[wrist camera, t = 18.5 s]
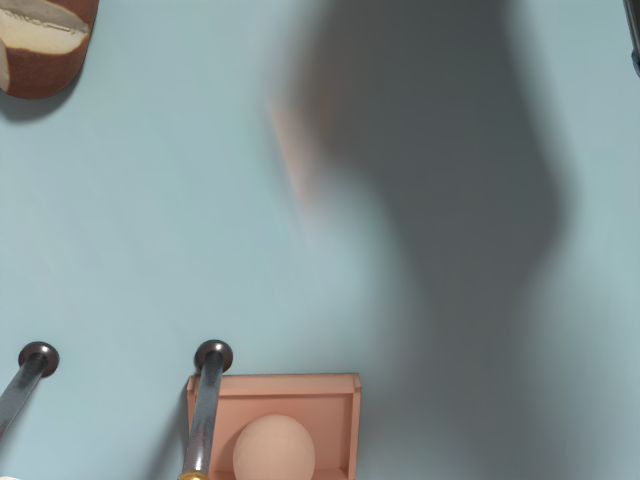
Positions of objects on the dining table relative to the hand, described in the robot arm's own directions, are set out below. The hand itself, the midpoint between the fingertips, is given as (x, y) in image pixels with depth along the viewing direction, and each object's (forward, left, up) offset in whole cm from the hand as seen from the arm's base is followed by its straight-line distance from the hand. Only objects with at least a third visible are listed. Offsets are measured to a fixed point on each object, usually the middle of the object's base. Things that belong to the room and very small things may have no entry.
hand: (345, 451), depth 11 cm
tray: (+1, +26, -35) cm, 43 cm away
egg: (+1, +26, -34) cm, 43 cm away
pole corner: (+6, +19, -35) cm, 40 cm away
